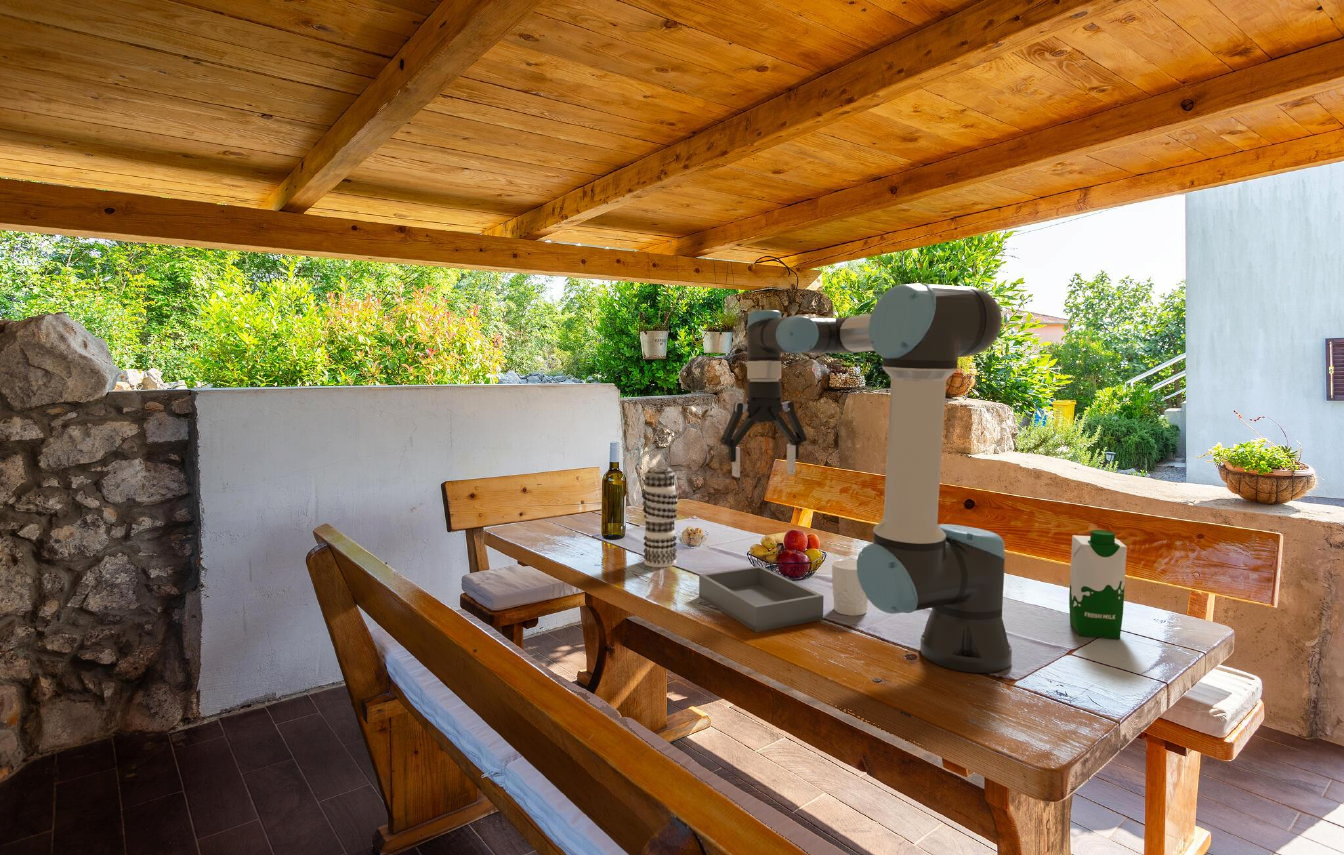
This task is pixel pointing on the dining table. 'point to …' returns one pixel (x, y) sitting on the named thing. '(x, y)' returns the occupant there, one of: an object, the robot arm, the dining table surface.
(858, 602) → the white cup
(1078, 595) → the milk carton
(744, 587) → the bin
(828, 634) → the dining table surface
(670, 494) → the decorative candle
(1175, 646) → the dining table surface
